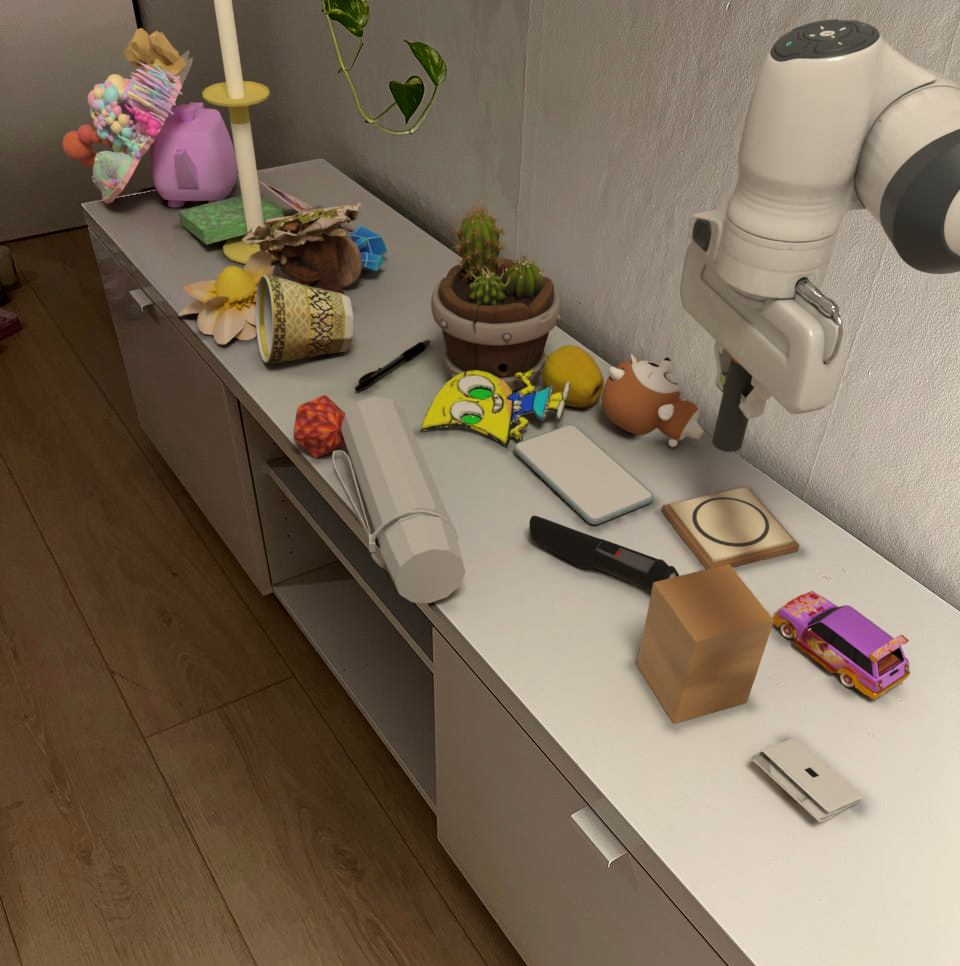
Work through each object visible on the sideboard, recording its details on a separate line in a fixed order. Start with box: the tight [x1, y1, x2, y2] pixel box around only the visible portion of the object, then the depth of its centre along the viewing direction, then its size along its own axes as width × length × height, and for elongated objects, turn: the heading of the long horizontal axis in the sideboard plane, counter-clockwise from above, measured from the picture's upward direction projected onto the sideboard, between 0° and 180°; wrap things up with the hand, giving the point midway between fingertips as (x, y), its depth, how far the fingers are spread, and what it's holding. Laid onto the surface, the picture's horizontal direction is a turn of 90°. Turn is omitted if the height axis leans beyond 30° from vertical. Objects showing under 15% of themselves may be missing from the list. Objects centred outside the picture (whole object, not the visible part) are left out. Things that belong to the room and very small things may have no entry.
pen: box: [354, 339, 431, 392], centre depth 120 cm, size 14×2×1 cm, turn 144°
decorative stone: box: [293, 394, 346, 459], centre depth 106 cm, size 6×7×8 cm
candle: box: [201, 0, 280, 265], centre depth 127 cm, size 10×10×38 cm
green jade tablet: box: [177, 194, 285, 245], centre depth 143 cm, size 11×12×2 cm
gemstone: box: [335, 224, 389, 288], centre depth 135 cm, size 7×9×12 cm
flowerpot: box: [430, 197, 562, 397], centre depth 112 cm, size 14×15×20 cm
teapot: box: [150, 101, 238, 208], centre depth 148 cm, size 20×12×13 cm, turn 3°
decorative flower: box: [177, 250, 287, 345], centre depth 127 cm, size 15×11×10 cm
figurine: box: [601, 353, 704, 448], centre depth 109 cm, size 9×9×12 cm
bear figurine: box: [241, 201, 363, 295], centre depth 128 cm, size 14×15×12 cm
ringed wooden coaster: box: [661, 485, 800, 570], centre depth 100 cm, size 10×10×1 cm
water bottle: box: [331, 396, 466, 604], centre depth 97 cm, size 9×8×25 cm
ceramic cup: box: [256, 275, 355, 365], centre depth 120 cm, size 13×10×10 cm
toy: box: [420, 369, 571, 449], centre depth 110 cm, size 10×1×15 cm
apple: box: [541, 344, 605, 408], centre depth 114 cm, size 6×6×8 cm
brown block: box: [636, 564, 774, 725], centre depth 82 cm, size 7×7×10 cm
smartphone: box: [513, 424, 655, 526], centre depth 105 cm, size 8×1×15 cm
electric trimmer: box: [529, 515, 680, 593], centre depth 95 cm, size 4×16×3 cm, turn 58°
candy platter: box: [61, 27, 194, 205], centre depth 143 cm, size 25×24×9 cm
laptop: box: [751, 737, 863, 823], centre depth 78 cm, size 7×6×2 cm
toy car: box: [772, 590, 911, 700], centre depth 87 cm, size 6×12×5 cm, turn 35°
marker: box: [711, 356, 755, 453], centre depth 90 cm, size 3×3×11 cm
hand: (737, 401), depth 90 cm, fingers closed on marker, 3 cm apart
